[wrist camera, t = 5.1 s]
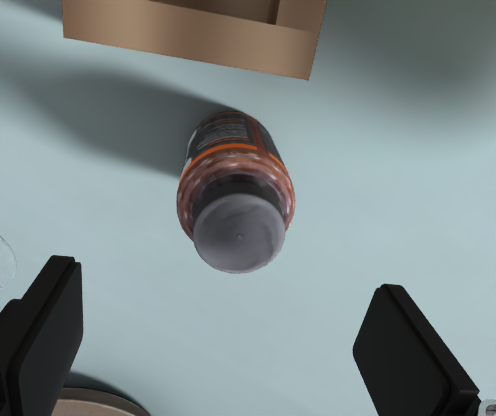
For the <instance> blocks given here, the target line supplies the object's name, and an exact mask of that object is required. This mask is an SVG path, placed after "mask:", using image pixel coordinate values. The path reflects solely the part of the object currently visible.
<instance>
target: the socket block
mask: <svg viewBox="0 0 496 416" xmlns="http://www.w3.org/2000/svg"><path fill="white" fill-rule="evenodd" d="M326 3H327V0H62V12H63V35H64V38H69V39H75V40H81V41H86V42H92V43H98V44H103V45H109V46H115V47H121V48H126V49H132V50H138V51H144V52H149V53H155V54H161V55H166V56H172V57H178V58H184V59H189V60H195V61H201V62H207V63H212V64H218V65H224V66H229V67H235V68H241V69H247V70H252V71H258V72H264V73H270V74H275V75H281V76H287V77H292V78H298V79H304V80H309V77H310V72H311V68H312V64H313V59H314V55H315V51H316V46H317V42H318V38H319V33H320V29H321V25H322V20H323V16H324V12H325V7H326Z"/></svg>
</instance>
